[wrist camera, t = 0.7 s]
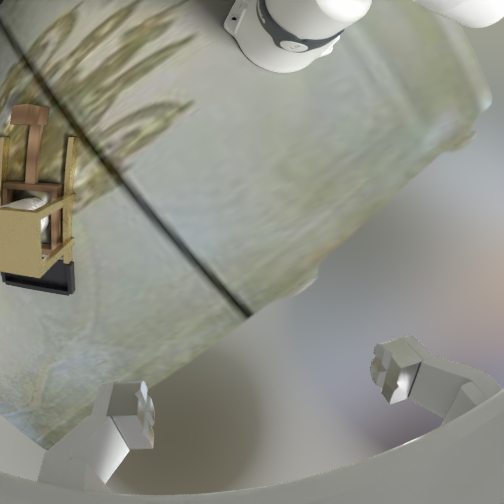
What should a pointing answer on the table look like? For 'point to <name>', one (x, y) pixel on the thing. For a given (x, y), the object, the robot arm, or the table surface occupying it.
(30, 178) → the wooden frame with handle
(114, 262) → the table surface
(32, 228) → the tunnel
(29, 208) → the white cup
